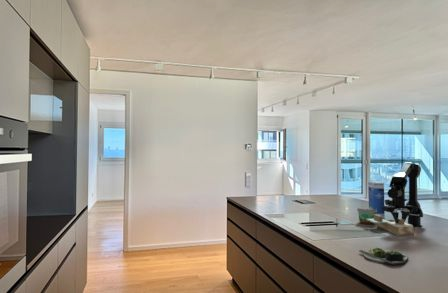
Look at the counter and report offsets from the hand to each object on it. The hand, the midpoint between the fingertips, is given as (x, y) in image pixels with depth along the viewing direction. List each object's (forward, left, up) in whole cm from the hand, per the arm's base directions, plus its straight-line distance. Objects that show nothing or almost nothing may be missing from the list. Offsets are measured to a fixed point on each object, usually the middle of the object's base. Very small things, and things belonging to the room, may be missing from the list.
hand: (399, 223), depth 182 cm
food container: (+7, -23, -6) cm, 25 cm away
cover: (+7, -10, -1) cm, 12 cm away
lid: (0, 0, -1) cm, 1 cm away
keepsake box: (0, -5, -6) cm, 7 cm away
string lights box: (-13, -44, -6) cm, 46 cm away
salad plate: (+36, +41, -6) cm, 55 cm away
